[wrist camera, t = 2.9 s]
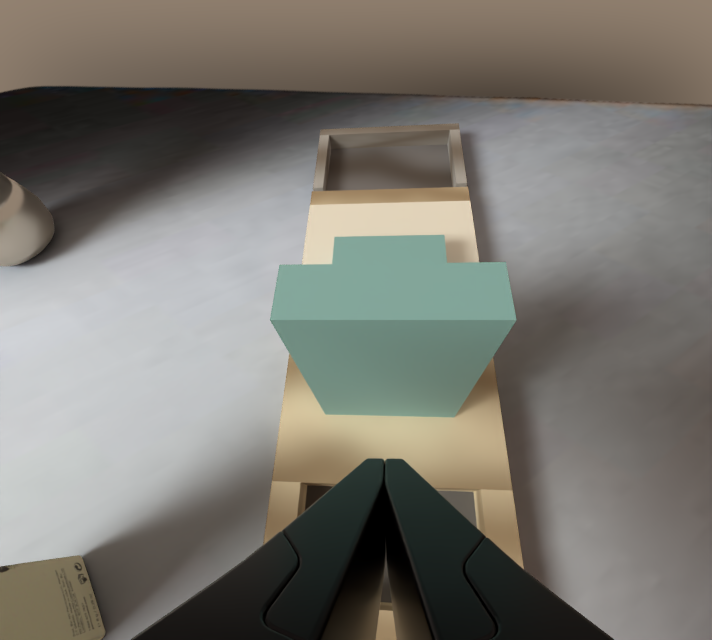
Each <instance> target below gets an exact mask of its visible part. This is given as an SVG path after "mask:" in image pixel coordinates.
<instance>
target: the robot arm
mask: <svg viewBox="0 0 712 640" xmlns="http://www.w3.org/2000/svg"><path fill="white" fill-rule="evenodd" d="M385 561H387V571H388V579H389V586H390V594H391V601H392V608H393V616H394V623H395V631H396V638H397V640H614V639H613V638H611V637H610V636H609V635H608V634H606V633H605V632H604V631H602V630H601V629H600V628H598V627H597V626H596V625H594V624H593V623H592V622H591V621H589V620H588V619H587V618H585V617H584V616H583V615H581V614H580V613H579V612H577V611H576V610H575V609H574V608H572V607H571V606H570V605H568V604H567V603H566V602H564V601H563V600H562V599H560V598H559V597H558V596H556V595H555V594H554V593H553V592H551V591H550V590H549V589H548V588H546V587H545V586H544V585H543V584H541V583H540V582H539V581H538V580H536V579H535V578H534V577H533V576H531V575H530V574H529V573H528V572H526V571H525V570H524V569H523V568H522V567H521V566H519V565H518V564H517V563H516V562H515V561H514V560H513V559H511V558H510V557H509V556H508V555H507V554H506V553H505V552H503V551H502V550H501V549H500V548H499V547H498V546H497V545H496V544H495V543H494V542H493V541H491V540H490V539H489V538H486V536H485V535H484V534H483V533H482V532H481V531H480V530H479V529H478V528H476V527H475V526H474V525H473V524H472V523H471V522H470V521H469V520H468V519H467V518H466V517H465V516H464V515H463V514H461V513H460V512H459V511H458V510H457V509H456V508H455V507H454V506H453V505H452V504H451V503H450V502H449V501H448V500H446V499H445V498H444V497H443V496H442V495H441V494H440V493H439V492H438V491H437V490H436V489H435V488H434V487H432V486H431V485H430V484H429V483H428V482H427V481H426V480H425V479H424V478H423V477H422V476H421V475H420V474H419V473H417V472H416V471H415V470H414V469H413V468H412V467H411V466H410V465H409V464H408V463H407V462H406V461H405V460H403V459H393V458H388V459H386V460H385V461H384V459H382V458H368V459H366V460H364V461H363V462H362V463H361V464H360V465H358V466H357V467H356V468H355V469H354V470H353V471H351V472H350V473H349V474H348V475H347V476H345V477H344V478H343V479H342V480H341V481H340V482H338V483H337V484H336V485H335V486H334V487H332V488H331V489H330V490H329V491H328V492H327V493H325V494H324V495H323V496H322V497H321V498H319V499H318V500H317V501H316V502H315V503H314V504H312V505H311V506H310V507H309V508H308V509H306V510H305V511H304V512H303V513H302V514H301V515H299V516H298V517H297V518H296V519H295V520H293V521H292V522H291V523H290V524H289V525H288V526H286V527H285V528H284V529H283V530H282V532H278V533H277V534H276V535H275V536H273V537H272V538H271V539H270V540H269V541H267V542H266V543H265V544H264V545H263V546H261V547H260V548H259V549H258V550H256V551H255V552H254V553H252V554H251V555H250V556H249V557H247V558H246V559H245V560H244V561H242V562H241V563H239V564H238V565H237V566H235V567H234V568H233V569H231V570H230V571H228V572H227V573H226V574H224V575H223V576H221V577H220V578H219V579H217V580H216V581H215V582H213V583H212V584H210V585H209V586H207V587H206V588H204V589H203V590H202V591H200V592H199V593H197V594H196V595H194V596H193V597H191V598H190V599H188V600H187V601H186V602H184V603H183V604H181V605H180V606H178V607H177V608H175V609H174V610H173V611H171V612H170V613H168V614H167V615H165V616H164V617H162V618H161V619H160V620H158V621H157V622H155V623H154V624H152V625H151V626H149V627H148V628H147V629H145V630H144V631H142V632H141V633H139V634H138V635H136V636H135V637H134V638H132V639H131V640H376V633H377V625H378V617H379V610H380V602H381V594H382V587H383V579H384V571H385Z"/></svg>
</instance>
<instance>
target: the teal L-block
mask: <svg viewBox="0 0 712 640" xmlns="http://www.w3.org/2000/svg"><path fill="white" fill-rule="evenodd" d="M270 321H271V322H272V324H273V326H274V328H275V329H276V331H277V333H278V334H279V336H280V338H281V340H282V341H283V343H284V345H285V346H286V348H287V350H288V351H289V353H290V355H291V357H292V358H293V360H294V362H295V363H296V365H297V367H298V369H299V370H300V372H301V374H302V375H303V377H304V379H305V381H306V382H307V384H308V386H309V387H310V389H311V391H312V392H313V394H314V396H315V398H316V399H317V401H318V403H319V404H320V406H321V408H322V410H323V411H324V413H325V414H326V415H370V416H414V417H455V415H456V414H457V412H458V411H459V409H460V408H461V406H462V404H463V403H464V401H465V400H466V398H467V397H468V395H469V393H470V392H471V390H472V389H473V387H474V386H475V384H476V383H477V381H478V379H479V378H480V376H481V375H482V373H483V372H484V370H485V369H486V367H487V365H488V364H489V362H490V361H491V359H492V358H493V356H494V355H495V353H496V351H497V350H498V348H499V347H500V345H501V344H502V342H503V340H504V339H505V337H506V336H507V334H508V333H509V331H510V330H511V328H512V326H513V325H514V323H515V322H516V314H515V309H514V304H513V298H512V293H511V288H510V282H509V277H508V272H507V266H506V262H466V263H447V257H446V246H445V236H444V235H402V236H349V237H334V248H333V259H332V264H306V265H279V271H278V277H277V282H276V288H275V294H274V300H273V306H272V311H271V317H270Z"/></svg>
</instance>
